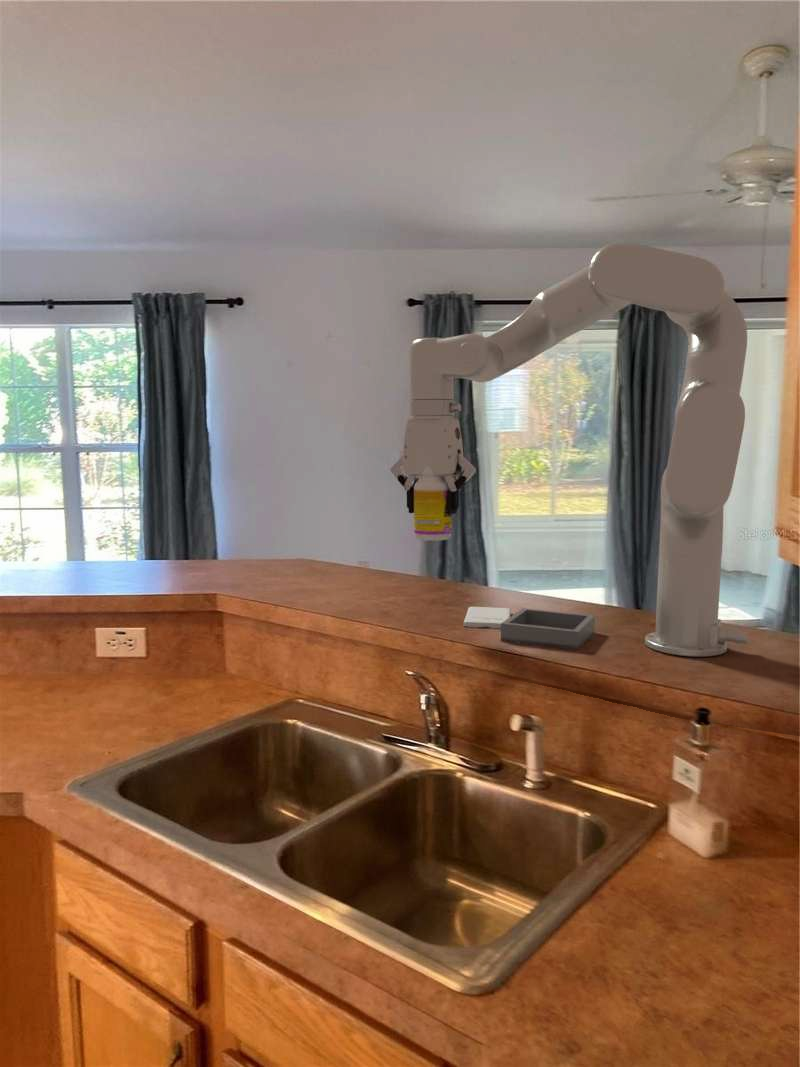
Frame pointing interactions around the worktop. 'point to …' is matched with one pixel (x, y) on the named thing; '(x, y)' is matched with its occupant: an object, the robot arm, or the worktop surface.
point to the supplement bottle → (431, 508)
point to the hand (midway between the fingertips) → (432, 512)
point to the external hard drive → (486, 617)
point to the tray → (548, 628)
